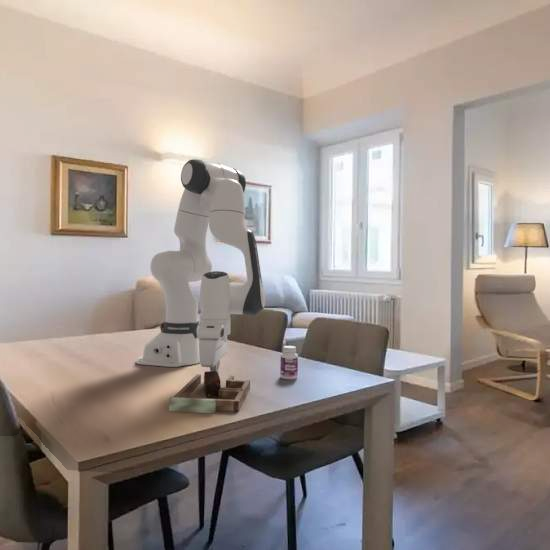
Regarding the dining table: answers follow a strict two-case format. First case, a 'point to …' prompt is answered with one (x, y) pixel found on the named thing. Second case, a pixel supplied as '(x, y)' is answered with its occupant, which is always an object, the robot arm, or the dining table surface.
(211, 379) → the brick
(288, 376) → the pill bottle
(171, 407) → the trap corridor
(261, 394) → the dining table surface
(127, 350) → the dining table surface
